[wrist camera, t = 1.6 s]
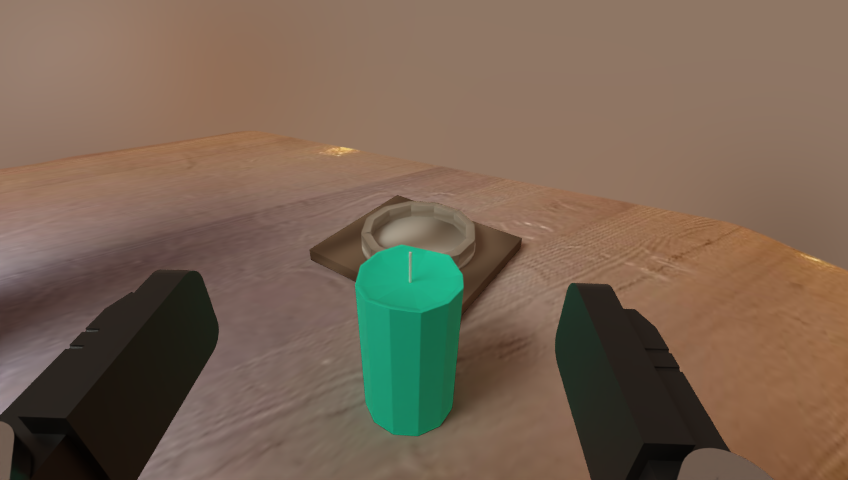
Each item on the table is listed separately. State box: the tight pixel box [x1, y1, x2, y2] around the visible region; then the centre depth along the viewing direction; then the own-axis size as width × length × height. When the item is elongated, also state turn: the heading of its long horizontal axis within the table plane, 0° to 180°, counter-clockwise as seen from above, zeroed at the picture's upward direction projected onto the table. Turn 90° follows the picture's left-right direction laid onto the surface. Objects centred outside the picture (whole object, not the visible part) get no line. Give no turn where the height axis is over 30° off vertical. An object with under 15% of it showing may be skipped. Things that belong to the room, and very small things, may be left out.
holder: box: [310, 195, 522, 315], centre depth 42 cm, size 16×14×3 cm
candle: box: [355, 244, 464, 436], centre depth 25 cm, size 6×6×12 cm
